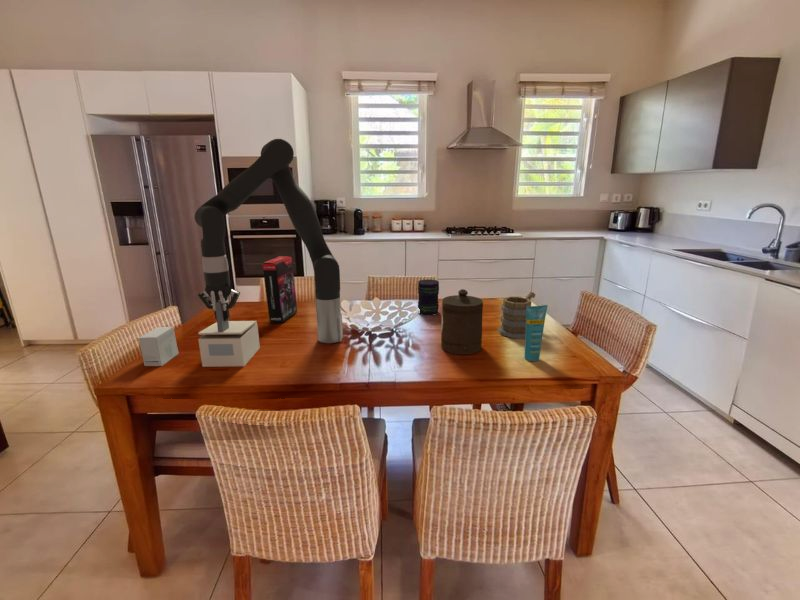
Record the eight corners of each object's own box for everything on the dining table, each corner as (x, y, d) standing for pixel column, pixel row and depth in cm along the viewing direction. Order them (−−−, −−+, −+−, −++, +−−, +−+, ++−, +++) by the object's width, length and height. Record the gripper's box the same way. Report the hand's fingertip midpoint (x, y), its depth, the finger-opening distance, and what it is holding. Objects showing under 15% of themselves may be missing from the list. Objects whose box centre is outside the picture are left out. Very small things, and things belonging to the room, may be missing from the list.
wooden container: (457, 337, 160) (459, 283, 154) (489, 347, 150) (492, 289, 144) (432, 347, 150) (433, 290, 144) (465, 358, 140) (467, 297, 134)
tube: (525, 362, 136) (530, 308, 131) (518, 356, 141) (522, 304, 136) (545, 360, 138) (550, 306, 133) (537, 354, 143) (542, 302, 137)
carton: (259, 347, 151) (257, 322, 148) (244, 366, 135) (240, 338, 132) (222, 348, 150) (218, 322, 148) (202, 366, 135) (198, 338, 132)
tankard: (519, 340, 156) (522, 303, 151) (492, 332, 165) (494, 297, 161) (546, 329, 168) (550, 294, 164) (520, 321, 177) (522, 288, 173)
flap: (256, 322, 147) (254, 293, 145) (241, 334, 133) (238, 302, 130) (218, 322, 147) (215, 294, 145) (198, 334, 132) (194, 303, 130)
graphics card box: (282, 324, 177) (277, 262, 169) (267, 323, 178) (261, 262, 170) (297, 312, 193) (293, 256, 185) (284, 311, 194) (279, 255, 186)
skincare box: (161, 353, 146) (156, 326, 143) (179, 353, 146) (174, 326, 143) (143, 366, 136) (137, 337, 133) (161, 366, 136) (156, 337, 133)
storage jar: (439, 315, 186) (440, 284, 182) (418, 315, 187) (418, 284, 182) (437, 309, 196) (438, 279, 192) (417, 309, 196) (417, 279, 192)
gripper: (241, 267, 134) (247, 316, 139) (200, 267, 134) (207, 317, 139) (232, 271, 127) (239, 323, 131) (189, 272, 127) (196, 324, 131)
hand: (222, 320), depth 135 cm, fingers closed on flap
